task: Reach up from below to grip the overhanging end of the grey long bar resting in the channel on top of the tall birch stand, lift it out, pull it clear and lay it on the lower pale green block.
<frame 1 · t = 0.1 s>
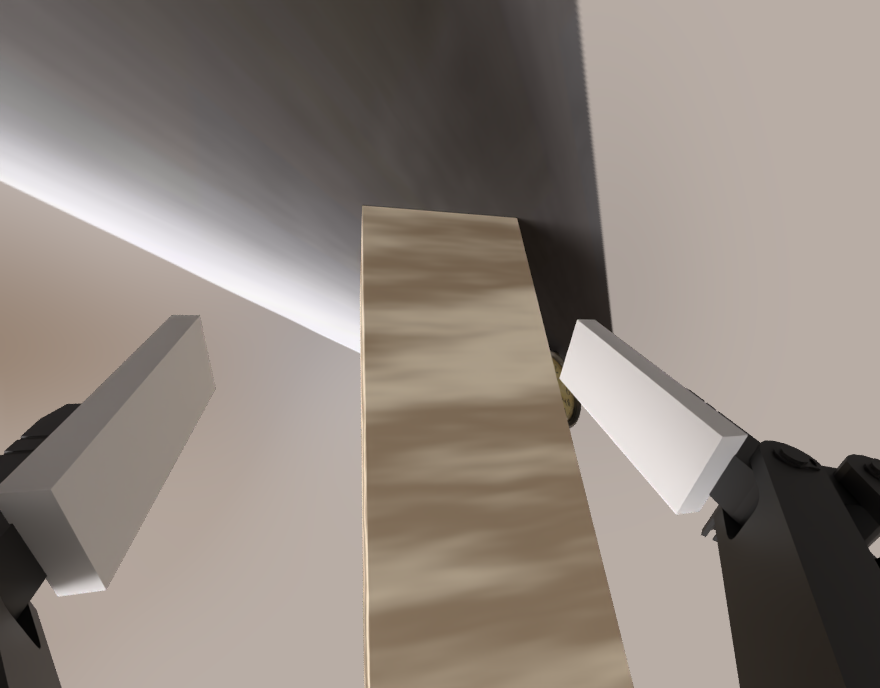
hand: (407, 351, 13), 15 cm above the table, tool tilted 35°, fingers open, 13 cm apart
alarm clock: (533, 348, 54), on the table
stand: (429, 261, 33), on the table
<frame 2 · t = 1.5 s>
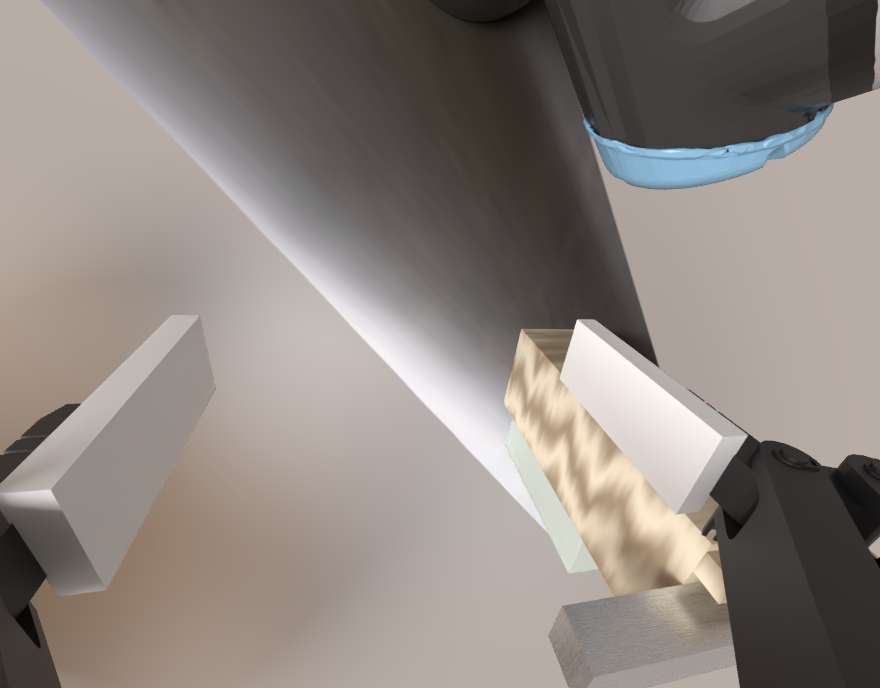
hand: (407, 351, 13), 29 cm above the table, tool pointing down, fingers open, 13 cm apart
pale green block: (551, 426, 58), on the table
stand: (551, 367, 53), on the table
grey long bar: (696, 594, 26), point 30 cm above the table, touching stand
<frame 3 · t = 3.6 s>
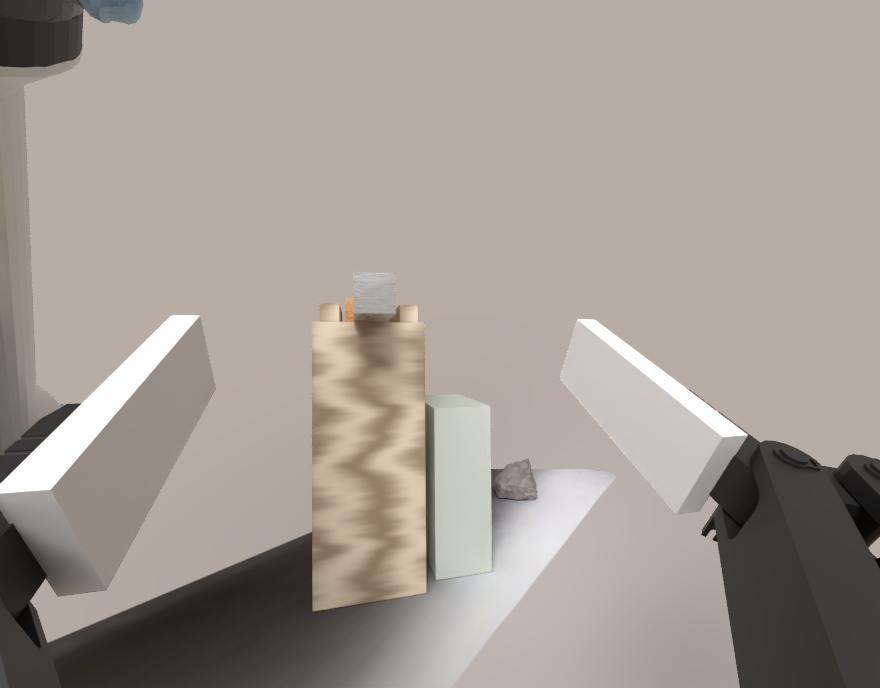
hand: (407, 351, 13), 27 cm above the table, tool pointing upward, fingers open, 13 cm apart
pale green block: (449, 546, 51), on the table
stand: (369, 570, 46), on the table
grey long bar: (369, 323, 42), point 30 cm above the table, touching stand
stone: (519, 495, 70), on the table
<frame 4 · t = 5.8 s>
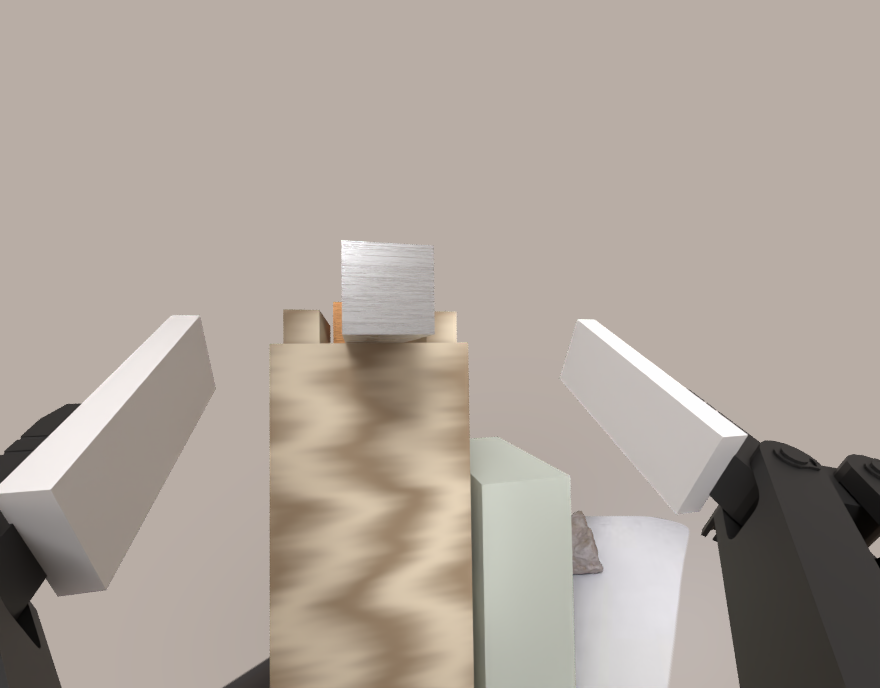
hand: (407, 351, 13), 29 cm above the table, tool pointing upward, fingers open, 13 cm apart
pale green block: (496, 680, 33), on the table
grey long bar: (373, 344, 25), point 30 cm above the table, touching stand
stone: (575, 563, 52), on the table
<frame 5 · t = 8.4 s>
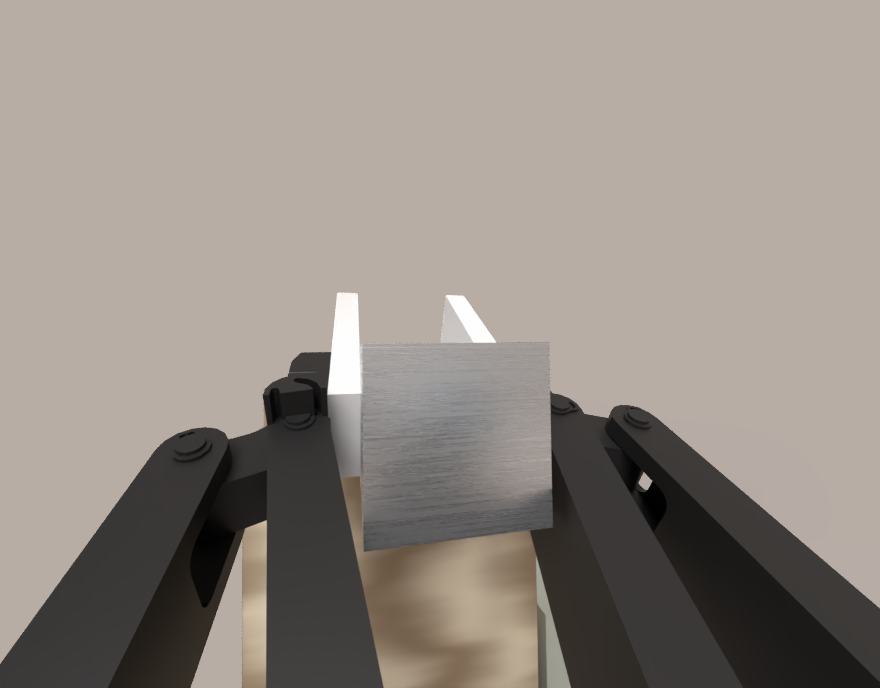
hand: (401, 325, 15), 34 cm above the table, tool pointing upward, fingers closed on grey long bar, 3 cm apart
grey long bar: (395, 424, 17), point 30 cm above the table, touching gripper
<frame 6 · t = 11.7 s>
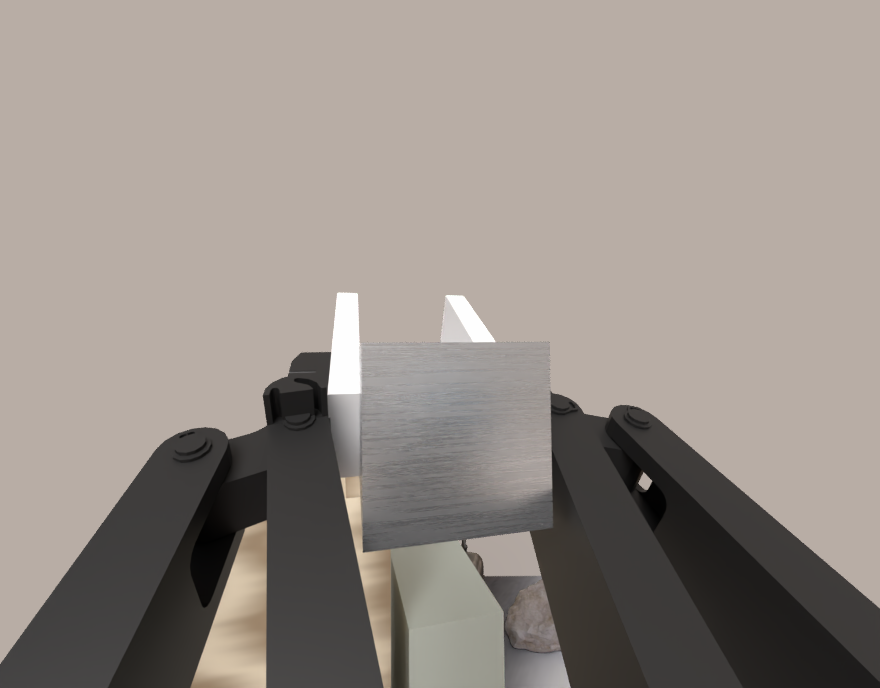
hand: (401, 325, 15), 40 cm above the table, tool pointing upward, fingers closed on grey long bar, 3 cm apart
grey long bar: (395, 424, 17), point 35 cm above the table, touching gripper
stone: (539, 637, 52), on the table
when the fingers open (25 cm above the table, at t = 15.5 s): grey long bar drops 1 cm, resting on pale green block.
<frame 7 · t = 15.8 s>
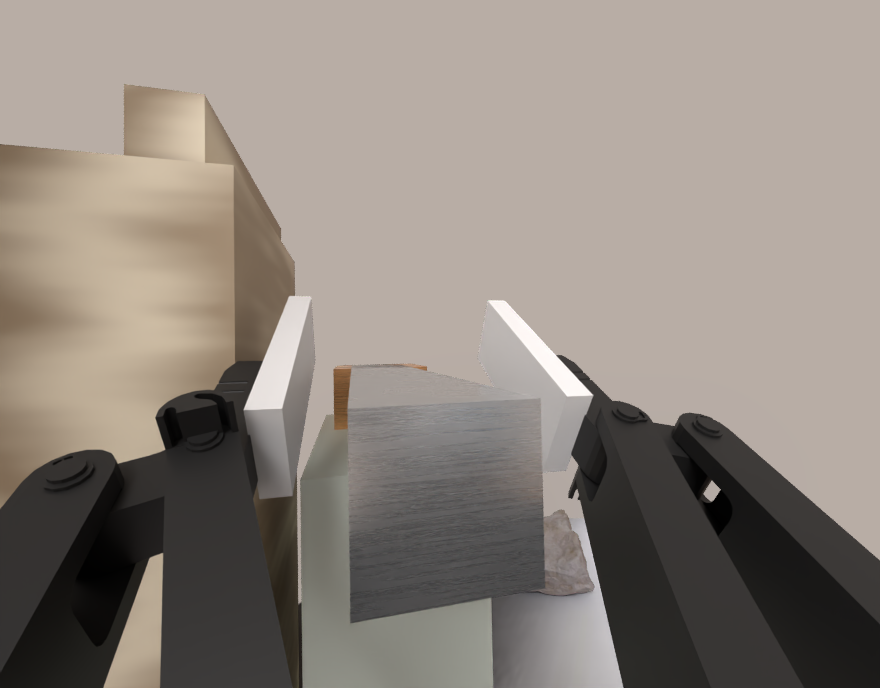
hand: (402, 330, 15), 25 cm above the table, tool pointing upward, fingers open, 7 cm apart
grey long bar: (390, 447, 17), point 20 cm above the table, touching pale green block
stone: (556, 579, 40), on the table
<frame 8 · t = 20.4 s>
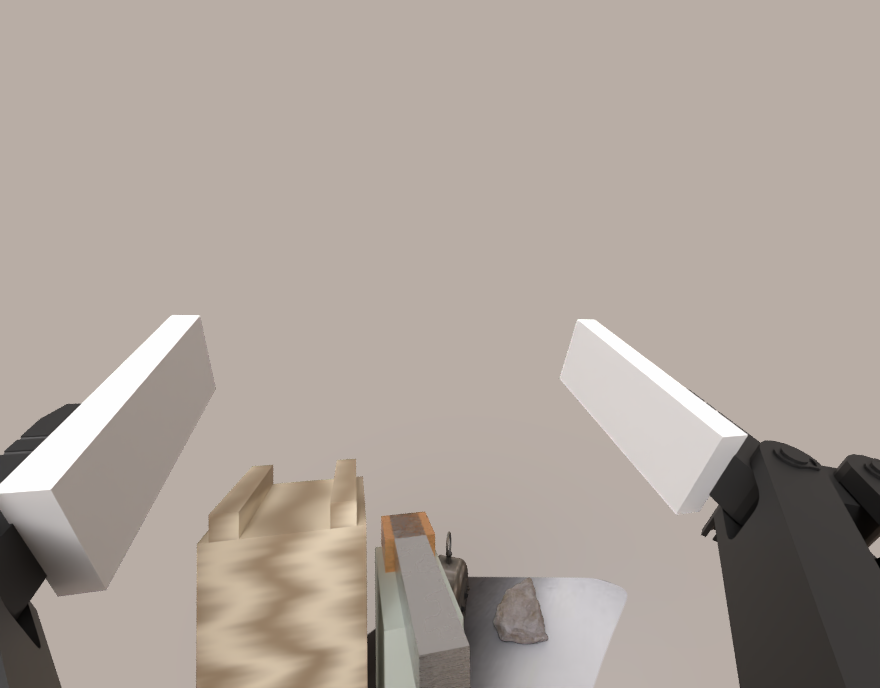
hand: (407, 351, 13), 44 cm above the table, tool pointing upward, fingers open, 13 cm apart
alarm clock: (449, 643, 56), on the table
grey long bar: (418, 598, 36), point 20 cm above the table, touching pale green block
stone: (524, 630, 59), on the table
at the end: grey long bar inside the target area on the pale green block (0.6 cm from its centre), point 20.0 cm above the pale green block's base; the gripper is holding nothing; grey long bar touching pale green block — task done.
